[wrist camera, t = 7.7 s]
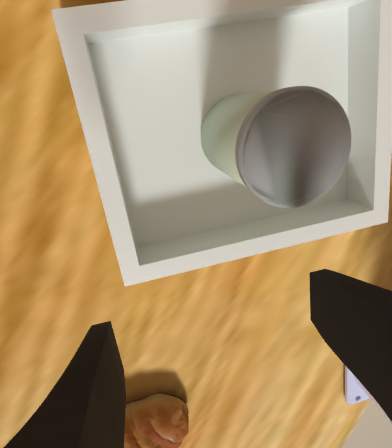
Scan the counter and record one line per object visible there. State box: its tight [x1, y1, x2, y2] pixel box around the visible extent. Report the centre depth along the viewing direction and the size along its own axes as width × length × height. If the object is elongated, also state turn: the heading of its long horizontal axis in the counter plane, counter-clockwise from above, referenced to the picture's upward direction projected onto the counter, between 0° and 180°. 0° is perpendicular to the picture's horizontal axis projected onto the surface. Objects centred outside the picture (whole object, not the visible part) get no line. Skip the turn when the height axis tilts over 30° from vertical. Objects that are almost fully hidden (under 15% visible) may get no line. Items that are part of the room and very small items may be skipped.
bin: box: [51, 0, 392, 286], centre depth 19 cm, size 16×13×3 cm
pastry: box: [124, 393, 189, 448], centre depth 24 cm, size 9×7×4 cm
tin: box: [201, 86, 351, 208], centre depth 16 cm, size 5×5×7 cm
